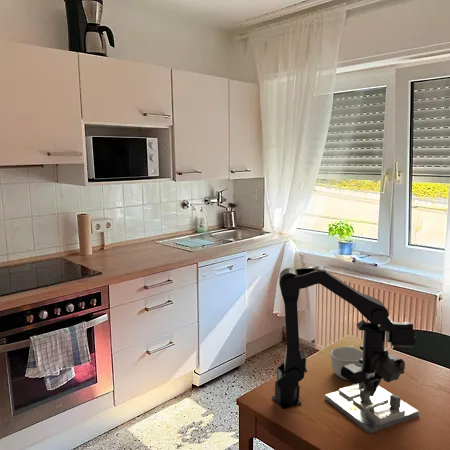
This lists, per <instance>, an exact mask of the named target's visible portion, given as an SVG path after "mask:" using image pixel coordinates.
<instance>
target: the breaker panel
mask: <svg viewBox="0 0 450 450" xmlns="http://www.w3.org/2000/svg"><path fill="white" fill-rule="evenodd" d="M361 389H364V388H362V387H360V386H359V383H358V384H352V385H349V386H345V387H342V388H339V389H338V390H335V391H333V392H329V393H326V394H324V398H325V399H324V400H326V402H328V403H330V405H332V406H333V407H334V408H336V409H337V410H339V412H341V413H342V414H344V416H345V417H347V418H349V419H350V420H351V421H353V423H355V424H356V425H357V426H358V427H360V428H361V429H362V430H364V431H365V432H366V433H368V434H373V433H376V432H379V431H381V430H383V429H386V428H389V427H392V426H395V425H397V424H401V423H403V422H406V421H409V420H412V419H414V418H417V417H419V416H420V415H419V414H420V411H419V410H418V409H417V408H415V407H413V406H412V405H410V404H409V403H407V402H406V401H404V400H402V399H401V401H400V408H398V409H394V408H392V407H391V406H390V396H391V395H394V394H393V393H391V392H389V391H387V390H386V389H385V388H383V387H381V386H380V385H378V387H377V390H376V392H375V394H374V396H373V397H371V396H370V402H366V403H364V402H363V401H362V400H360V390H361Z"/></svg>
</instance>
